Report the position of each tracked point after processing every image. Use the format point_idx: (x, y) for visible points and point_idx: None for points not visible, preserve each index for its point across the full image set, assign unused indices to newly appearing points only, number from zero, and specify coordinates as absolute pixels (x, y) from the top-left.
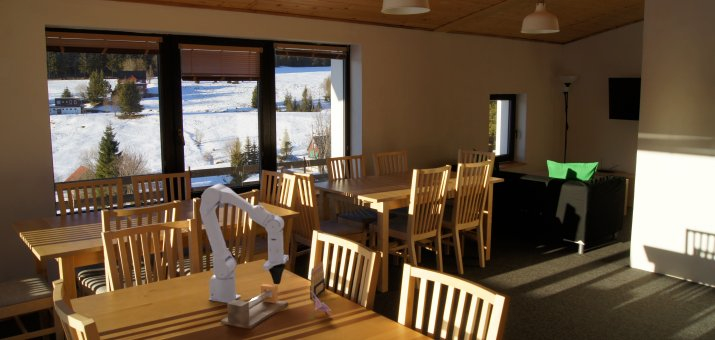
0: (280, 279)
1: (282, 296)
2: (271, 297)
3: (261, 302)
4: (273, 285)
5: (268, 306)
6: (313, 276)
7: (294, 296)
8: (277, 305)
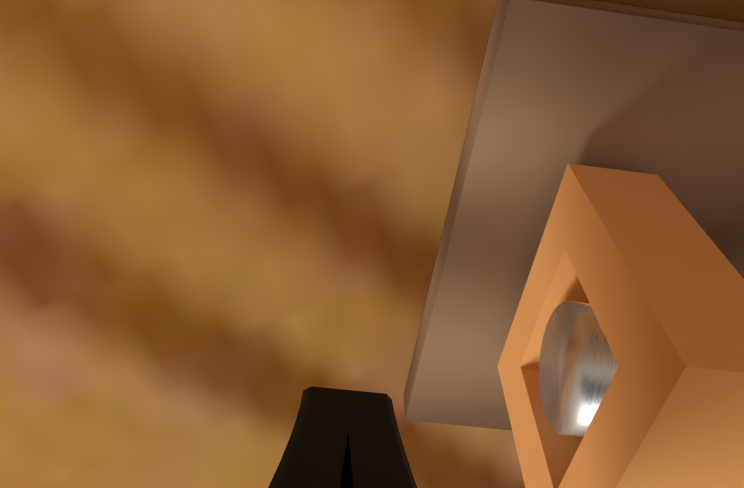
0: (319, 462)
1: (178, 219)
2: (564, 296)
3: None
4: (652, 446)
5: (737, 222)
6: None
7: (85, 39)
8: (693, 111)
